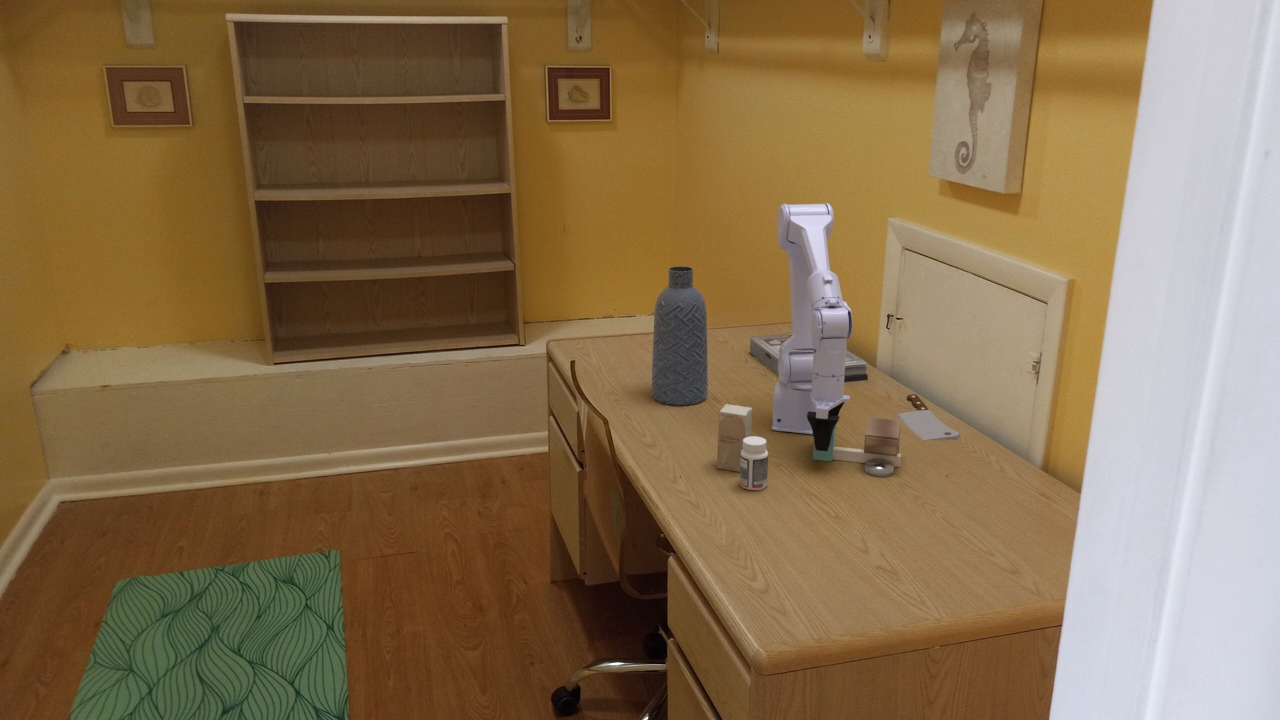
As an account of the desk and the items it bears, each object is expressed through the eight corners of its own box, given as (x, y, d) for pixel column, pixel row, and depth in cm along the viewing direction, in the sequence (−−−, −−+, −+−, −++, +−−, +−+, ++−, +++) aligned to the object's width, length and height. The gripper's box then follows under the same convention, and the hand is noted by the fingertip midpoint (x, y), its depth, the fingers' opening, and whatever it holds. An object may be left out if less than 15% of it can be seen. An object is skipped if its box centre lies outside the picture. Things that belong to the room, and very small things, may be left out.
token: (863, 476, 177) (863, 468, 177) (865, 465, 182) (866, 457, 181) (892, 479, 176) (892, 471, 175) (894, 468, 180) (894, 460, 180)
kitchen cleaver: (879, 396, 215) (925, 393, 216) (879, 400, 216) (925, 397, 216) (911, 439, 192) (963, 436, 192) (911, 444, 193) (962, 441, 193)
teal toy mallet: (812, 459, 184) (814, 428, 182) (815, 452, 187) (817, 422, 185) (899, 469, 180) (902, 438, 178) (900, 461, 183) (903, 431, 181)
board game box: (792, 389, 223) (793, 370, 221) (748, 354, 248) (749, 337, 246) (867, 381, 227) (868, 363, 226) (816, 348, 252) (817, 331, 251)
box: (716, 468, 180) (717, 410, 177) (723, 459, 184) (724, 403, 180) (744, 472, 178) (746, 414, 175) (750, 463, 182) (752, 406, 179)
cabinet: (862, 471, 179) (865, 434, 177) (866, 452, 187) (869, 417, 185) (895, 475, 177) (898, 438, 175) (898, 456, 185) (901, 420, 183)
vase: (695, 385, 224) (697, 261, 215) (716, 403, 213) (719, 272, 204) (643, 391, 220) (643, 265, 212) (662, 409, 209) (663, 277, 201)
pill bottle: (769, 481, 175) (771, 437, 172) (763, 492, 170) (765, 447, 168) (743, 478, 176) (744, 433, 174) (736, 488, 172) (738, 443, 169)
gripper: (846, 386, 172) (842, 459, 176) (855, 362, 186) (850, 431, 190) (805, 382, 174) (802, 455, 178) (816, 359, 188) (813, 427, 192)
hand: (824, 442), depth 184 cm, fingers open, 7 cm apart
